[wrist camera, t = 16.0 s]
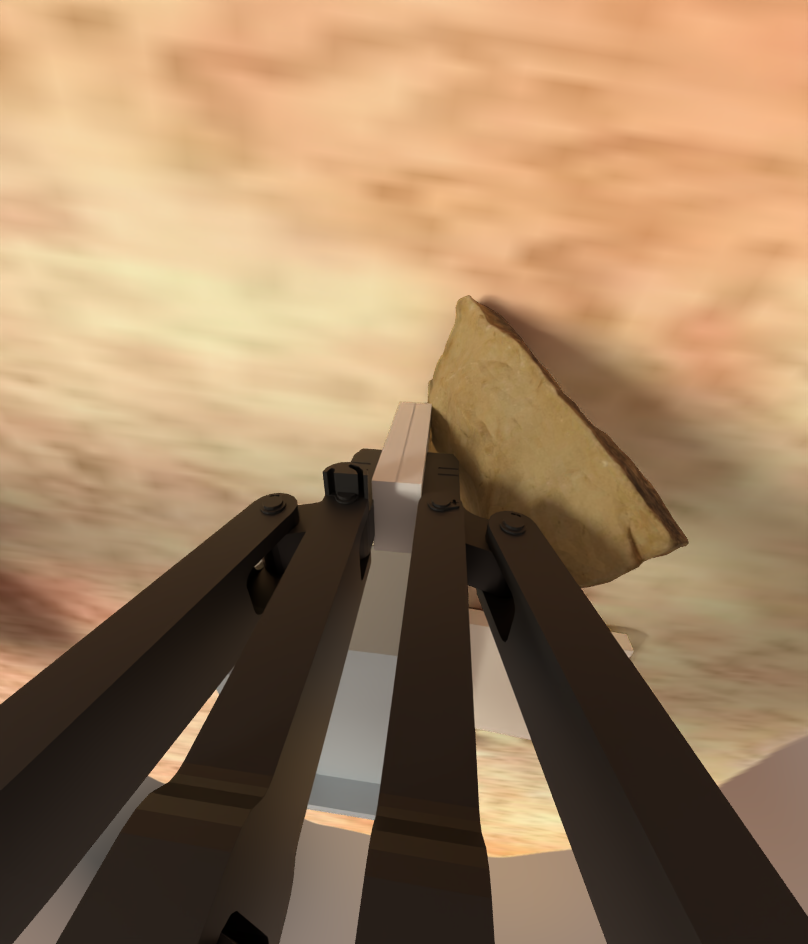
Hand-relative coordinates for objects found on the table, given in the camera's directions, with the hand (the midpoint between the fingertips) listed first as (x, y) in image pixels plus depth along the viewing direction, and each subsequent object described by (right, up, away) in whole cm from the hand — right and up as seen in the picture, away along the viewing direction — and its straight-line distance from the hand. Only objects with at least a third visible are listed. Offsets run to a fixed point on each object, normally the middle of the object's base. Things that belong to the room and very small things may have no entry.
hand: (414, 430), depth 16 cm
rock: (+2, 0, +1) cm, 3 cm away
